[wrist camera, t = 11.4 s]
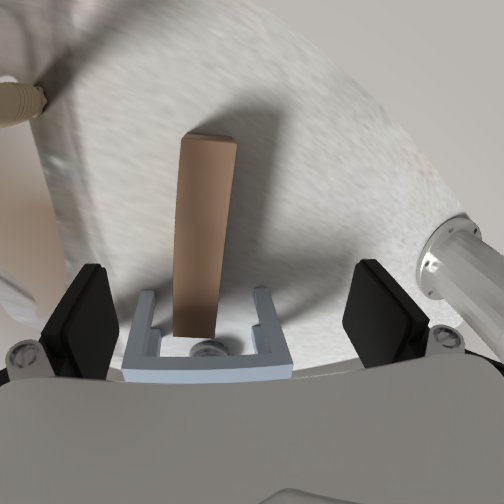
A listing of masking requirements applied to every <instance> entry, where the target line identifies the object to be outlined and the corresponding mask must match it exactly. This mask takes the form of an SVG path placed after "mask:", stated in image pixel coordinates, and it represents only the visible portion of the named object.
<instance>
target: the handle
mask: <svg viewBox="0 0 504 504" xmlns="http://www.w3.org/2000/svg"><path fill="white" fill-rule="evenodd" d="M45 104H47V99H46V98H45V96H44V94H43V89H42V88H41V87H38V86H31V85H28V84H23V83H13V82H4V83H0V128H3V127H7V126H12V125H15V124H19V123H22V122H24V121H27V120H29V119H30V118H32V117H38V116H39V115H41V114H42V110H43V107H44V106H45Z"/></svg>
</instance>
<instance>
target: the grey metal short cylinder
mask: <svg viewBox="0 0 504 504" xmlns="http://www.w3.org/2000/svg"><path fill="white" fill-rule="evenodd" d="M207 356H229V353H228V350H227V348H226V347H225V346H224V345H222V344H221V343H218V342H215V341H203V342H200V343H198V344H196V345H194V346H193V347H192V349H191V350H190V357H207Z"/></svg>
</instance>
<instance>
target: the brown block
mask: <svg viewBox="0 0 504 504" xmlns="http://www.w3.org/2000/svg"><path fill="white" fill-rule="evenodd" d="M236 150H237V143H236V142H235V141H234V139H233V138H232V137H228V136H219V135H208V134H196V133H186V134H185V135H184V137H183V138H182V139H181V149H180V160H179V171H178V184H177V198H176V214H175V234H174V262H173V337H190V338H212V339H214V338H215V328H216V318H217V308H218V298H219V289H220V279H221V270H222V261H223V252H224V244H225V235H226V227H227V219H228V211H229V203H230V195H231V187H232V180H233V172H234V165H235V157H236Z"/></svg>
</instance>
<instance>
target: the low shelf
mask: <svg viewBox="0 0 504 504" xmlns="http://www.w3.org/2000/svg"><path fill="white" fill-rule="evenodd" d="M254 302H255V306H256V310H257V314H258V318H259V322H260V326H254V327H252V334H251V336H252V341H253V346H254V350H255V354H252V355H234V356H207V357H159V356H160V347H161V339H162V337H161V331H160V329H151V324H152V319H153V314H154V308H155V303H156V299H155V292H154V290H141V293H140V296H139V300H138V303H137V307H136V310H135V314H134V318H133V322H132V326H131V329H130V333H129V337H128V341H127V345H126V350H125V354H124V358H123V362H122V367H121V370H122V373H123V376H124V378H125V381H126V382H140V383H174V384H197V383H234V382H252V381H267V380H279V379H290V378H291V374H292V369H293V365H294V364H293V361H292V358H291V355H290V352H289V349H288V346H287V343H286V340H285V337H284V334H283V331H282V328H281V325H280V322H279V319H278V316H277V313H276V310H275V307H274V304H273V301H272V298H271V295H270V292H269V289H268V288H255V291H254Z"/></svg>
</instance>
